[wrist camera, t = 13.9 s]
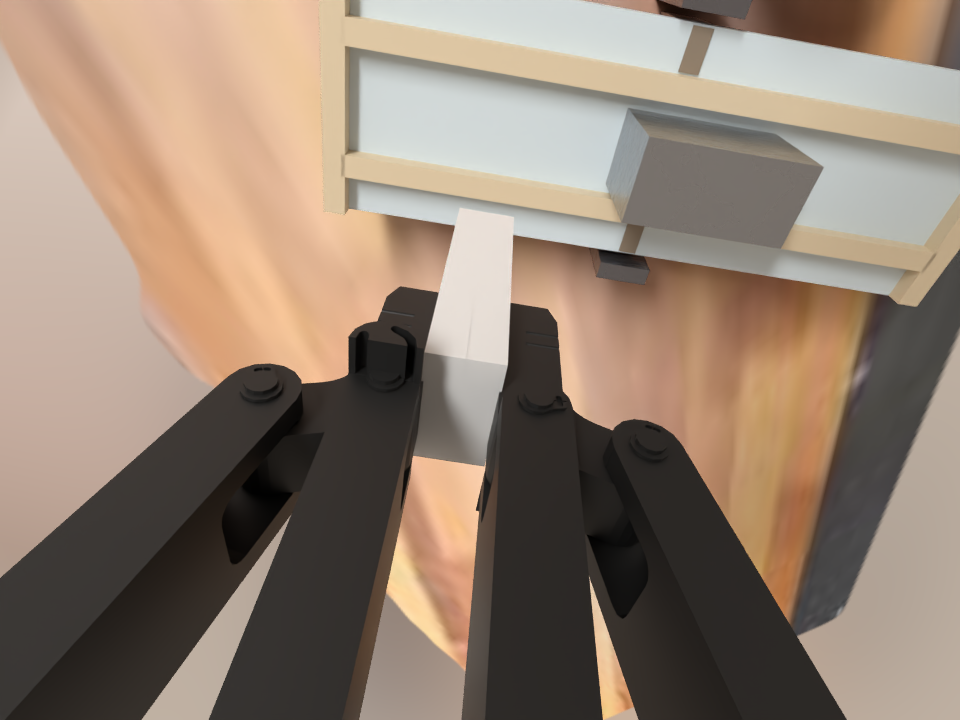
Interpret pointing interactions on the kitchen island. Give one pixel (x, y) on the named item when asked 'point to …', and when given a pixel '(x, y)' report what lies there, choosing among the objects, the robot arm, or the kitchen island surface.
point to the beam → (600, 116)
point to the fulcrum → (634, 267)
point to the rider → (708, 179)
